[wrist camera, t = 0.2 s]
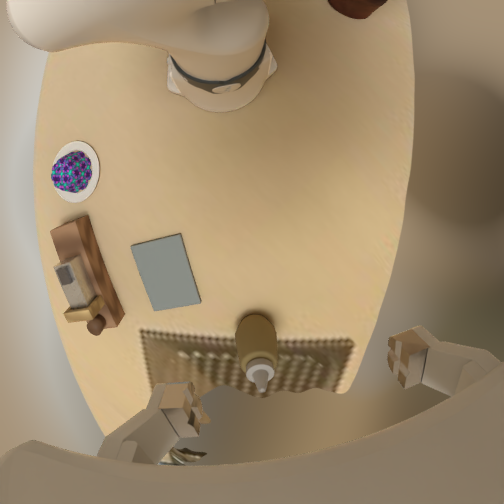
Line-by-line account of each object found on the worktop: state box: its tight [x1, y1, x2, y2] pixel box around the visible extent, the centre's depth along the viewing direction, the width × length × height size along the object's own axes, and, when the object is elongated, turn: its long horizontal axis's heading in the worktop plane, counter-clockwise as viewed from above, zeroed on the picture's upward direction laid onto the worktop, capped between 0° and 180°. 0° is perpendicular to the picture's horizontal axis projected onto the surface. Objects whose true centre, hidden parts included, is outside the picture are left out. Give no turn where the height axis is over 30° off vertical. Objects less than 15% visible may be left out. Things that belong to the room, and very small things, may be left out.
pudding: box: [51, 141, 99, 203], centre depth 40 cm, size 12×12×5 cm
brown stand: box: [50, 215, 125, 336], centre depth 43 cm, size 22×7×11 cm, turn 11°
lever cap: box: [54, 254, 97, 310], centre depth 42 cm, size 10×4×5 cm, turn 11°
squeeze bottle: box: [235, 314, 278, 393], centre depth 46 cm, size 8×8×18 cm
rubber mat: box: [131, 234, 201, 311], centre depth 49 cm, size 14×10×1 cm
